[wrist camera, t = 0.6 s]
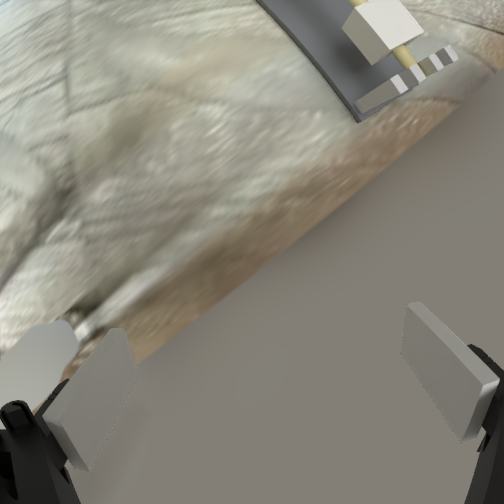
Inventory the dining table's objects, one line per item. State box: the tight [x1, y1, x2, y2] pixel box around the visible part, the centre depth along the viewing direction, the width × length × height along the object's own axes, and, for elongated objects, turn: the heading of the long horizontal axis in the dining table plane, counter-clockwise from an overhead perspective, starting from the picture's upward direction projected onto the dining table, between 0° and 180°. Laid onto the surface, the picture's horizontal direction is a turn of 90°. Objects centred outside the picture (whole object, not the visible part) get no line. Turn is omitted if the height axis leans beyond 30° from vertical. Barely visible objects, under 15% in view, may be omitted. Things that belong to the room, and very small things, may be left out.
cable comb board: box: [256, 0, 459, 123], centre depth 26 cm, size 24×10×12 cm, turn 36°
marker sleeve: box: [342, 0, 424, 65], centre depth 24 cm, size 5×5×5 cm
